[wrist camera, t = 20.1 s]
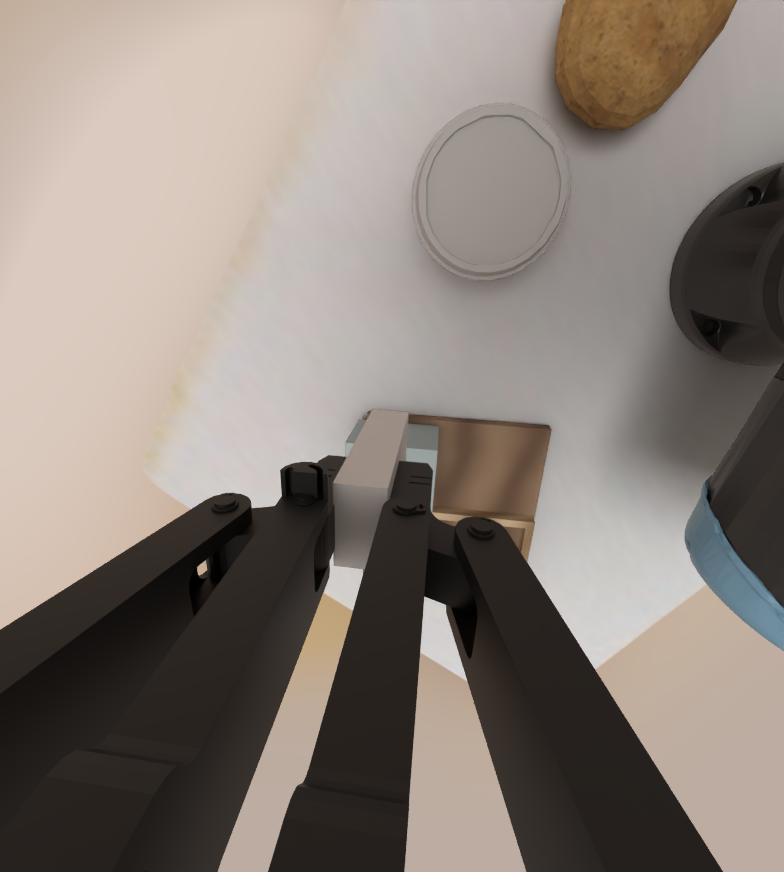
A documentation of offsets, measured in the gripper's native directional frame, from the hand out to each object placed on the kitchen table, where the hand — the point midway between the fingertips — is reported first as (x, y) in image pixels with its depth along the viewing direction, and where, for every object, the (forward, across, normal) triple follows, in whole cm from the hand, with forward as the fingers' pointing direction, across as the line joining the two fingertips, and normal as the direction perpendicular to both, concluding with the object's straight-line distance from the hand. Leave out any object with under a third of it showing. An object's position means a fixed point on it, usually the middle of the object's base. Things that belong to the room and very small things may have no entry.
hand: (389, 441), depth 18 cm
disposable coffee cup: (+25, -4, -11) cm, 27 cm away
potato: (+25, -13, -23) cm, 36 cm away
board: (+24, -4, +17) cm, 30 cm away
